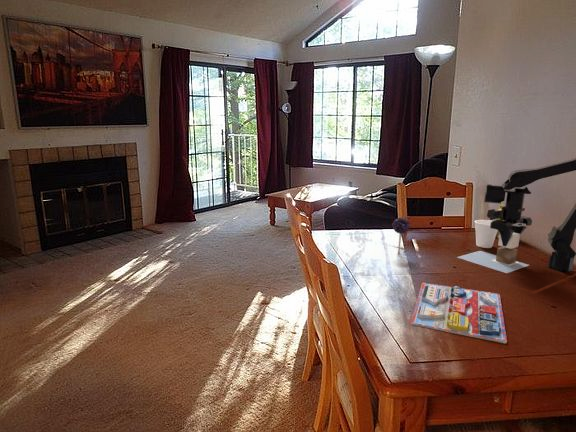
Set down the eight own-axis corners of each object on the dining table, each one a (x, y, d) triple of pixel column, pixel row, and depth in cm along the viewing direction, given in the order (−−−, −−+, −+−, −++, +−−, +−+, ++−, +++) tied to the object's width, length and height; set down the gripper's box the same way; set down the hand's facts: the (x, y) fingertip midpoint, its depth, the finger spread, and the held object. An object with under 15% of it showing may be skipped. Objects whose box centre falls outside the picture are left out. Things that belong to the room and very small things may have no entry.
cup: (501, 251, 173) (504, 225, 170) (477, 250, 173) (480, 225, 170) (490, 243, 182) (493, 219, 180) (467, 243, 183) (470, 219, 180)
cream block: (518, 246, 156) (520, 233, 155) (511, 248, 153) (512, 235, 152) (505, 243, 160) (506, 230, 159) (498, 245, 157) (499, 232, 156)
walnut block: (515, 262, 157) (517, 249, 156) (508, 264, 155) (510, 251, 153) (502, 258, 161) (504, 246, 160) (495, 260, 159) (497, 248, 158)
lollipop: (405, 251, 170) (409, 216, 166) (408, 256, 163) (412, 220, 160) (388, 250, 170) (391, 215, 167) (391, 256, 164) (394, 219, 160)
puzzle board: (422, 285, 137) (422, 278, 136) (499, 298, 128) (500, 290, 127) (409, 326, 110) (410, 317, 109) (506, 346, 101) (508, 337, 100)
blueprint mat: (529, 266, 155) (529, 264, 155) (506, 274, 146) (506, 273, 146) (479, 252, 171) (479, 250, 171) (456, 258, 162) (456, 257, 162)
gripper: (506, 198, 164) (501, 236, 168) (479, 203, 154) (474, 243, 158) (535, 203, 155) (529, 243, 159) (508, 208, 145) (502, 251, 149)
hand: (508, 244), depth 156 cm, fingers closed on cream block, 5 cm apart
